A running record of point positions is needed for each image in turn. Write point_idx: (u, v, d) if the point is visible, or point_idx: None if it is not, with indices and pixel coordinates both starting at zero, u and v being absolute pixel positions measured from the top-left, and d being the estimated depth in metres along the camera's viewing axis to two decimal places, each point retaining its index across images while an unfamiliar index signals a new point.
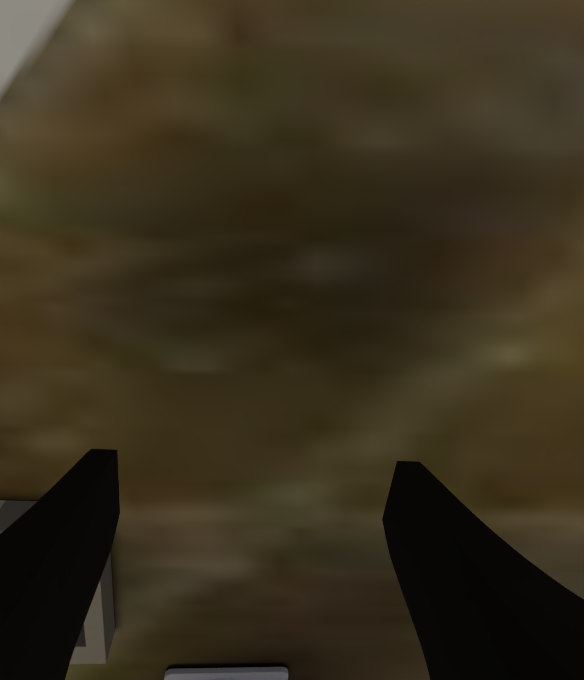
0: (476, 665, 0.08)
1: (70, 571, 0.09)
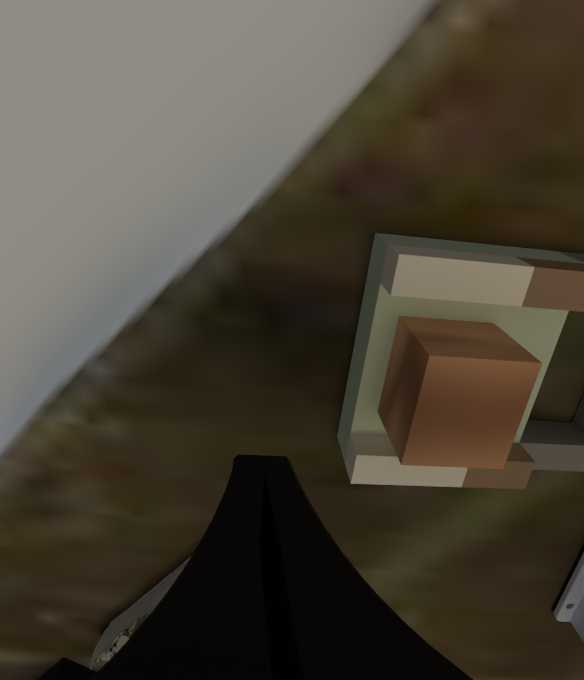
0: (278, 668, 0.08)
1: None
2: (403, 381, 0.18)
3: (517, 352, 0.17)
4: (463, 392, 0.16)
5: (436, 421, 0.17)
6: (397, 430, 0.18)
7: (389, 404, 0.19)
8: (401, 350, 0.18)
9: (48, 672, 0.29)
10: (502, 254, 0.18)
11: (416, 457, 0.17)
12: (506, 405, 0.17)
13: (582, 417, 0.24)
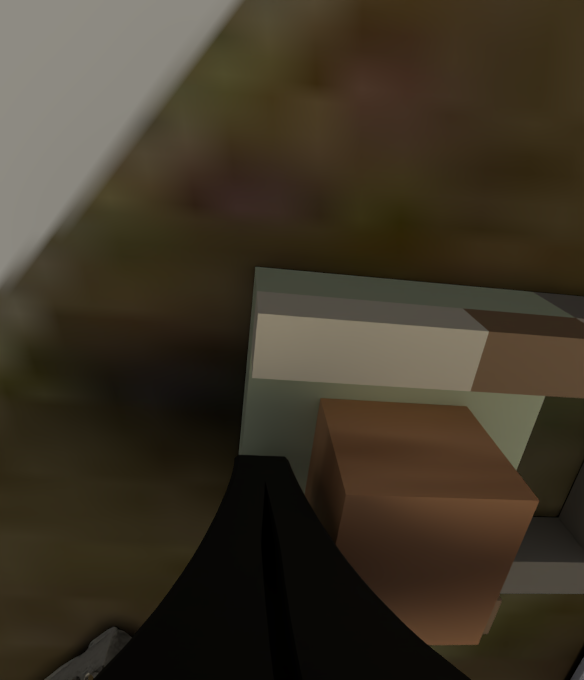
0: (276, 668, 0.08)
1: None
2: (320, 509, 0.11)
3: (498, 476, 0.10)
4: (408, 546, 0.10)
5: None
6: None
7: None
8: (320, 456, 0.12)
9: None
10: (443, 304, 0.12)
11: None
12: (480, 561, 0.10)
13: (572, 515, 0.17)
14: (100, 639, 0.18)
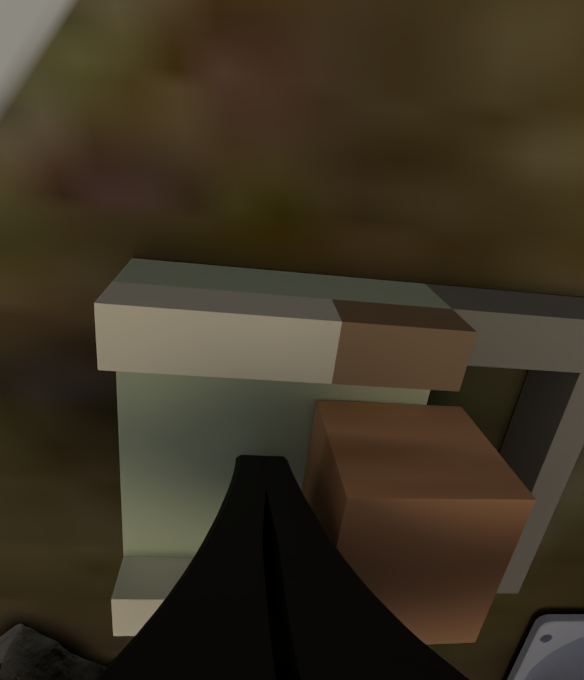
0: (275, 668, 0.08)
1: None
2: (318, 511, 0.11)
3: (495, 476, 0.10)
4: (408, 546, 0.10)
5: None
6: None
7: None
8: (317, 458, 0.12)
9: None
10: (313, 295, 0.11)
11: None
12: (478, 560, 0.10)
13: None
14: (6, 636, 0.18)
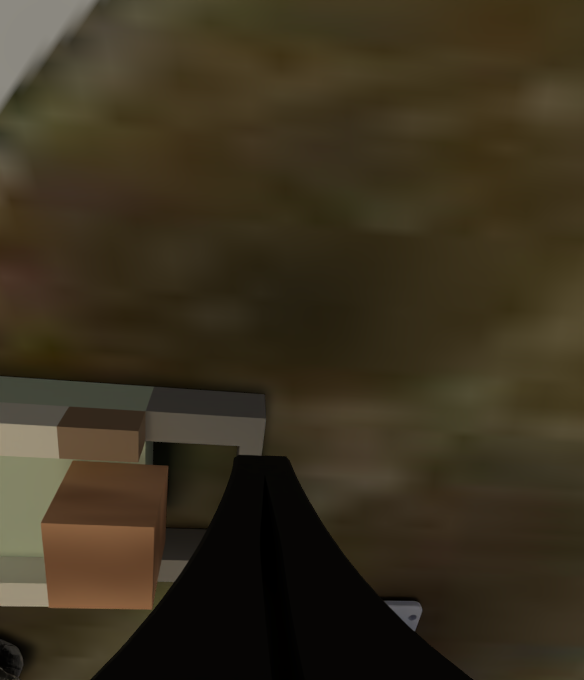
0: (278, 668, 0.08)
1: None
2: None
3: (143, 512, 0.18)
4: (86, 550, 0.18)
5: (69, 573, 0.18)
6: None
7: None
8: None
9: None
10: (60, 403, 0.19)
11: (62, 601, 0.19)
12: (133, 560, 0.18)
13: None
14: None
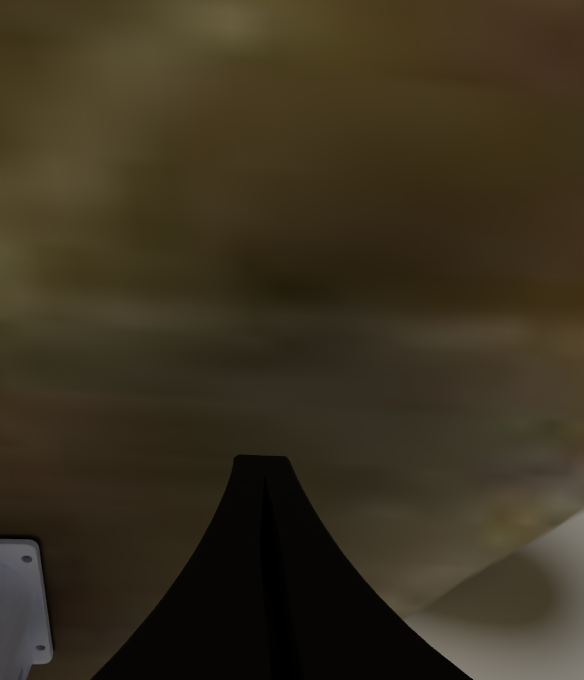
0: (278, 668, 0.08)
1: None
2: None
3: None
4: None
5: None
6: None
7: None
8: None
9: None
10: None
11: None
12: None
13: None
14: None
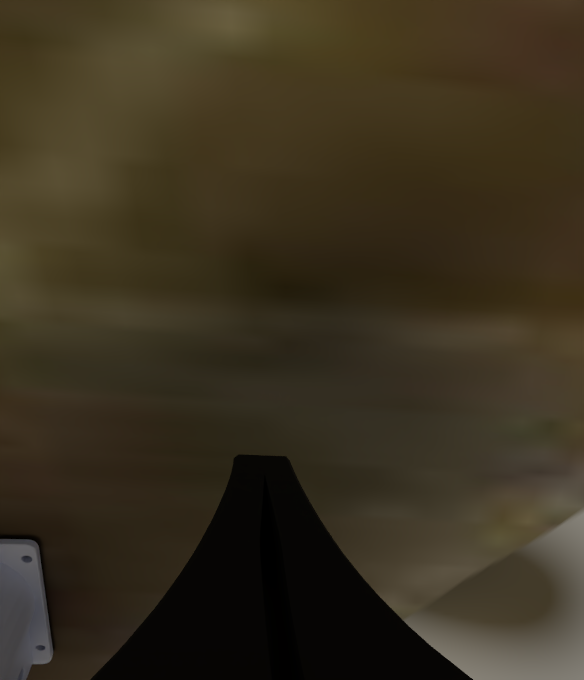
0: (278, 668, 0.08)
1: None
2: None
3: None
4: None
5: None
6: None
7: None
8: None
9: None
10: None
11: None
12: None
13: None
14: None
